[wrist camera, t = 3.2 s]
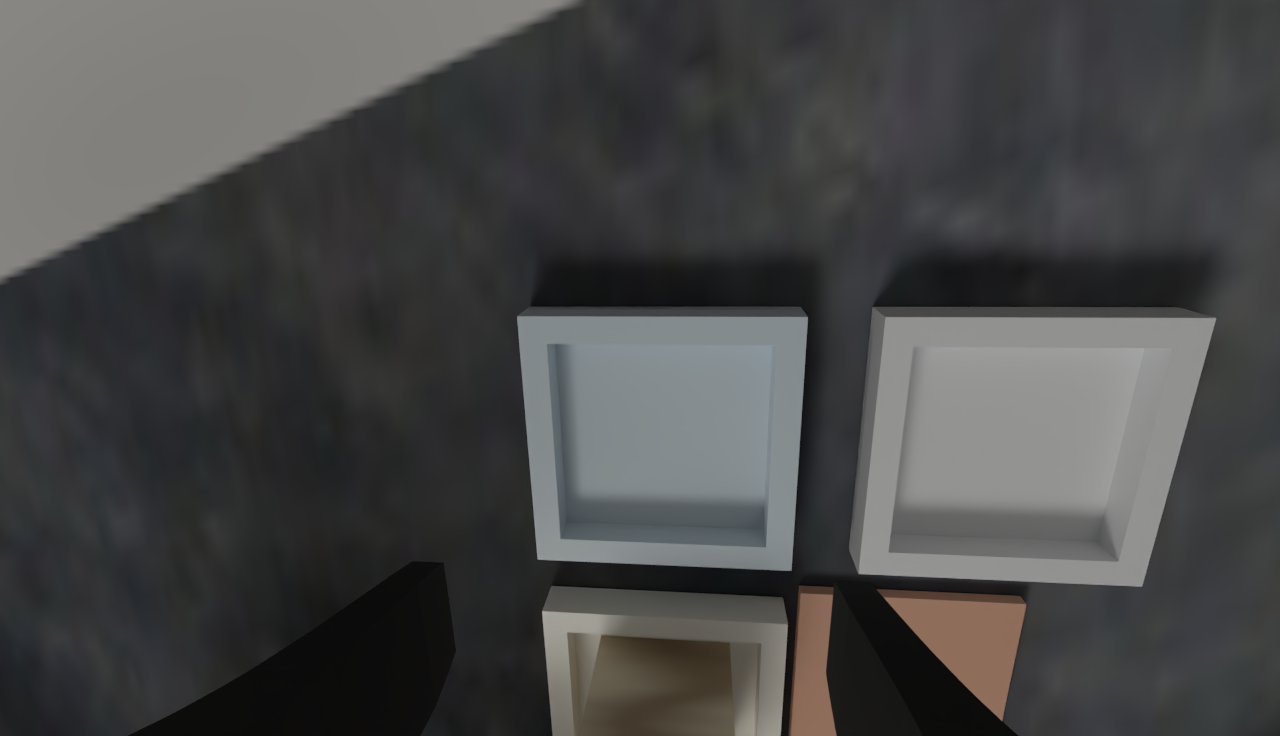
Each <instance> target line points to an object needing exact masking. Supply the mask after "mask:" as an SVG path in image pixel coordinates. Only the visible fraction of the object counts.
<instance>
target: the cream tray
mask: <svg viewBox="0 0 1280 736" xmlns="http://www.w3.org/2000/svg"><path fill="white" fill-rule="evenodd" d="M542 617H543V629H544V640H545V652H546V664H547V676H548V688H549V699H550V711H551V723H552V735H553V736H579V732H580V728H581V724H582V719H583V715H584V710H585V706H586V701H587V697H588V692H589V688H590V683H591V679H592V674H593V670H594V665H595V661H596V656H597V652H598V647H599V643H600V638H601V635H602V636H619V637H637V638H654V639H672V640H689V641H707V642H724V643H730V655H731V674H732V692H733V711H734V729H735V736H781V724H782V708H783V693H784V678H785V663H786V647H787V632H788V622H787V616H786V611H785V605H784V600H783V597H768V596H748V595H728V594H707V593H687V592H666V591H646V590H626V589H605V588H585V587H564V586H551V588H550V591H549V594H548V596H547V599H546V602H545V605H544V607H543V610H542Z"/></svg>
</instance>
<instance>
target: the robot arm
mask: <svg viewBox="0 0 1280 736" xmlns="http://www.w3.org/2000/svg"><path fill="white" fill-rule="evenodd" d="M455 652H456V648H455V641H454V634H453V627H452V619H451V612H450V605H449V598H448V591H447V584H446V577H445V570H444V563H436V562H414V561H413V562H411V563H410V564H408V565H406V566H405V567H403V568H402V569H400V570H399V571H397V572H396V573H394V574H393V575H391V576H390V577H388V578H387V579H385V580H384V581H382V582H381V583H380V584H378V585H377V586H375V587H374V588H373V589H371V590H370V591H368V592H367V593H365V594H364V595H363V596H361V597H360V598H358V599H357V600H355V601H354V602H353V603H351V604H350V605H348V606H347V607H345V608H344V609H342V610H341V611H340V612H338V613H337V614H335V615H334V616H332V617H331V618H330V619H328V620H327V621H325V622H324V623H322V624H321V625H319V626H318V627H317V628H315V629H314V630H312V631H311V632H309V633H307V634H306V635H304V636H303V637H301V638H300V639H298V640H297V641H295V642H293V643H292V644H290V645H289V646H287V647H286V648H284V649H283V650H281V651H279V652H278V653H276V654H275V655H273V656H272V657H270V658H269V659H267V660H266V661H264V662H262V663H261V664H259V665H258V666H256V667H255V668H253V669H251V670H250V671H248V672H246V673H245V674H243V675H241V676H240V677H238V678H236V679H235V680H233V681H231V682H229V683H228V684H226V685H224V686H222V687H221V688H219V689H217V690H215V691H214V692H212V693H210V694H208V695H206V696H204V697H203V698H201V699H199V700H197V701H195V702H194V703H192V704H190V705H188V706H186V707H185V708H183V709H181V710H179V711H177V712H175V713H173V714H171V715H169V716H167V717H165V718H163V719H161V720H159V721H157V722H155V723H153V724H151V725H149V726H147V727H145V728H143V729H141V730H139V731H137V732H135V733H133V734H131V735H129V736H420V735H421V733H422V731H423V730H424V728H425V726H426V724H427V722H428V720H429V718H430V716H431V714H432V712H433V710H434V708H435V706H436V703H437V701H438V698H439V696H440V693H441V690H442V688H443V685H444V683H445V680H446V677H447V674H448V672H449V669H450V666H451V663H452V660H453V658H454V655H455ZM826 677H827V683H828V690H829V696H830V702H831V708H832V713H833V719H834V725H835V730H836V735H837V736H1018V735H1017V734H1016V733H1015V732H1013V731H1012V730H1011V729H1010V728H1009V727H1008V726H1007V725H1006V724H1005V723H1003V722H1002V721H1001V720H1000V719H999V718H998V717H997V716H996V715H995V714H994V713H993V712H992V711H991V710H990V709H989V708H988V707H987V706H985V705H984V704H983V703H982V702H981V701H980V700H979V699H978V698H977V697H976V696H975V695H974V694H973V693H972V692H971V691H970V690H969V689H968V688H967V687H966V686H965V685H964V684H963V683H962V682H961V681H960V680H959V679H958V678H957V677H956V676H955V675H954V674H953V673H952V672H951V671H950V670H949V669H948V668H947V667H946V666H945V664H944V663H943V662H942V661H941V660H940V659H939V658H938V657H937V656H936V655H935V654H934V653H933V652H932V651H931V650H930V649H929V648H928V647H927V645H926V644H925V643H924V642H923V641H922V640H921V639H920V638H919V637H918V636H917V634H916V633H915V632H914V631H913V630H912V629H911V628H910V627H909V626H908V624H907V623H906V622H905V621H904V620H903V619H902V618H901V617H900V615H899V614H898V613H897V612H896V611H895V610H894V609H893V607H892V606H891V605H890V604H889V603H888V602H887V601H886V600H885V598H884V597H883V596H882V595H881V594H880V593H879V592H878V591H877V589H876V588H875V587H874V586H873V585H872V584H871V583H870V582H850V581H834V590H833V601H832V612H831V623H830V634H829V645H828V655H827V666H826Z"/></svg>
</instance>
